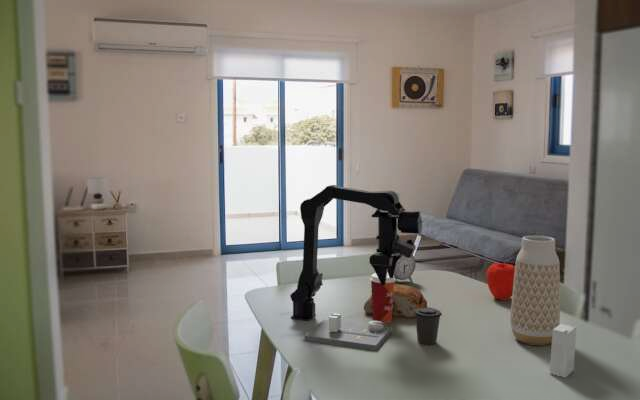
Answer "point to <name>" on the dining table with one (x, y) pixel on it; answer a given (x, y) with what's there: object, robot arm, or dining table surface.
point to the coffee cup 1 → (382, 298)
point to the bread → (402, 301)
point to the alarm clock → (404, 268)
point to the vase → (536, 291)
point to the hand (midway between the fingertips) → (387, 281)
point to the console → (350, 334)
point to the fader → (334, 322)
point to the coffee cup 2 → (427, 325)
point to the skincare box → (563, 350)
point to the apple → (501, 280)
